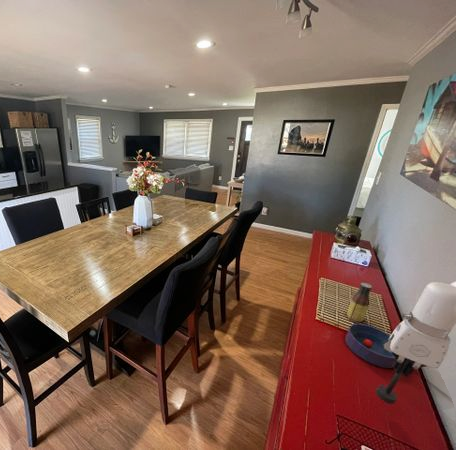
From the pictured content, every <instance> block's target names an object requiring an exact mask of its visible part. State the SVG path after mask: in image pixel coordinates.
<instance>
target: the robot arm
mask: <svg viewBox="0 0 456 450" xmlns="http://www.w3.org/2000/svg"><path fill="white" fill-rule="evenodd" d="M401 318H402V319H403V320H402V321H401V322H400V323H399V324H398V325H396V327H395V328H394V329H393V331H392V333H391V334H390V338H389V340H388V342H387V343H385V344H384V345H383V346H384V349H386V350H387V351H389V352H391V353H392V354H393V355H394V357H395V360H394V362H393V364H392V366H393V370H394V373H400V371H401V370H402V368H403V366H404V363H403V362H404V359H405V358H407V359H410V362H409V364H408V365H407V367H406V369H405V370H404V372H403V373H402V375H403V376H404V377H405V378H408V377H409V375H412V374H413V372H414V371H415V370H418V369H420V368H425V367H428V368H433V369H438V368H439V367H440V366H441V365H442V364H443V362H444V360H445V358H446V356H447V354H448V351H449V348H450V344H451V337H450V336H449V334H450V332H451V331H452V330H453V328H454V326H455V325H456V280H455V281H453V282H451V283H450V284H448V283H446V282H440V281H432V282H430V283H428V284H427V285H426V286H425V287H424V290H423V291H422V293H421V294H420V297H419V299H418V300H417V302H416V304H415V306H414V308H413V309H412V311H410V313H402V317H401Z"/></svg>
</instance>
